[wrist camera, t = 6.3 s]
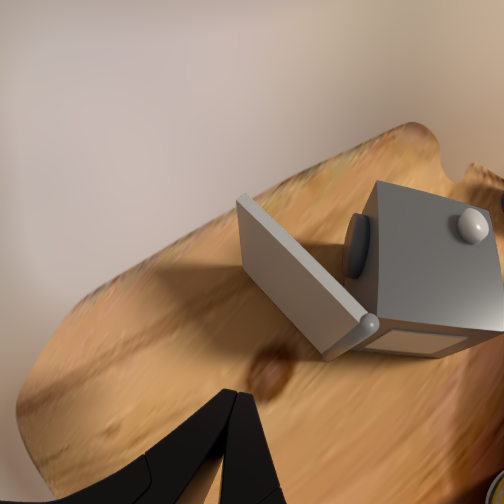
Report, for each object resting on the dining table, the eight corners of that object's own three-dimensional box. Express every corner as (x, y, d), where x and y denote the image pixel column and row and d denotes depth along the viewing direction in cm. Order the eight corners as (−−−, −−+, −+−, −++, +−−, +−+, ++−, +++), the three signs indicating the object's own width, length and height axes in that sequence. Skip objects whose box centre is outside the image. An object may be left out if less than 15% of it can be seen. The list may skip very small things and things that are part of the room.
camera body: (441, 359, 18) (515, 329, 11) (326, 347, 19) (368, 311, 12) (439, 261, 22) (494, 203, 15) (337, 242, 23) (368, 168, 16)
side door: (340, 351, 19) (387, 318, 12) (327, 364, 19) (369, 338, 11) (254, 260, 22) (252, 188, 15) (241, 270, 22) (233, 201, 15)
